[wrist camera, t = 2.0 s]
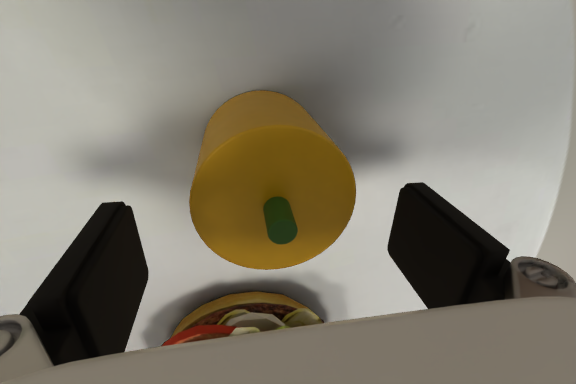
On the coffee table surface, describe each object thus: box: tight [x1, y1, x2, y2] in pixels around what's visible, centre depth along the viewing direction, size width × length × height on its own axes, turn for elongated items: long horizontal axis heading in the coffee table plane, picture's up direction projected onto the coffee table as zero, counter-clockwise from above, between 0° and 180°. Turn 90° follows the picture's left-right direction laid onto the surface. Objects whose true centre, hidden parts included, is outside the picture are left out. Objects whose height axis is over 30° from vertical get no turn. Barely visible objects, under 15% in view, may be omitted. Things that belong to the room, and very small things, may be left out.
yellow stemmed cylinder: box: [189, 90, 356, 270], centre depth 13 cm, size 6×6×8 cm
